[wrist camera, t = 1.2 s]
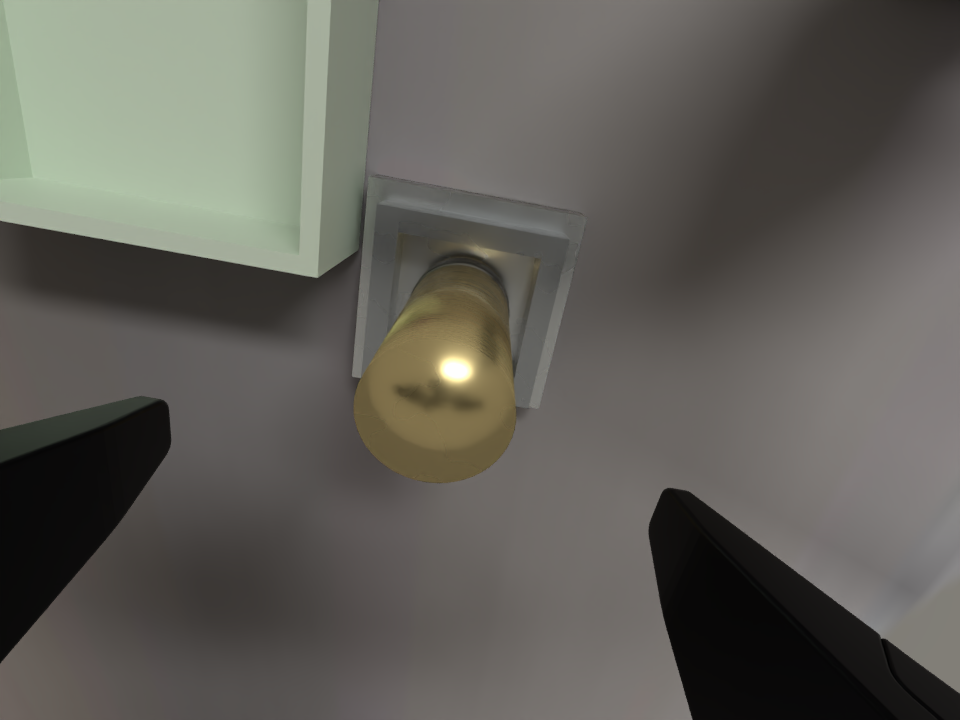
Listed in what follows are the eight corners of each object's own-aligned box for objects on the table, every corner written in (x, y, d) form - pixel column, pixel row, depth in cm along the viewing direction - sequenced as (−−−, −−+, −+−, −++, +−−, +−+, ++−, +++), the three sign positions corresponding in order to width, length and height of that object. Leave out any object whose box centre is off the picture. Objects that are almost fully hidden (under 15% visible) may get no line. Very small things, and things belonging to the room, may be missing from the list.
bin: (392, -173, 15) (346, -321, 10) (358, 249, 20) (317, 277, 15) (-45, -269, 14) (-300, -470, 10) (33, 189, 19) (-111, 200, 15)
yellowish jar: (517, 265, 18) (534, 354, 10) (498, 354, 20) (500, 496, 12) (420, 246, 18) (358, 322, 10) (408, 338, 20) (345, 471, 11)
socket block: (580, 213, 19) (595, 222, 16) (536, 393, 22) (541, 427, 19) (377, 174, 19) (357, 178, 16) (360, 362, 22) (341, 392, 19)
